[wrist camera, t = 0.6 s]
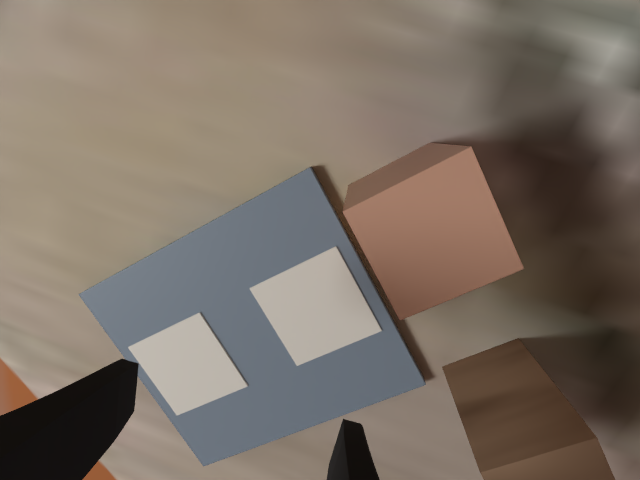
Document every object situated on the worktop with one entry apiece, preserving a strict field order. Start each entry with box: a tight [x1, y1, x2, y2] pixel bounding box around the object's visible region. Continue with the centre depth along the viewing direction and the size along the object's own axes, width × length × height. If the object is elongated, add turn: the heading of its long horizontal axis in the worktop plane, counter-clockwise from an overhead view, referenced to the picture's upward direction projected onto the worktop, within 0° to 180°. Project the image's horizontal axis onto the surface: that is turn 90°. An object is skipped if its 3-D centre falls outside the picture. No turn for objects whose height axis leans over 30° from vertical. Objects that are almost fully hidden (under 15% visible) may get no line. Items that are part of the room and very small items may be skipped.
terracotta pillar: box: [343, 143, 524, 320], centre depth 15 cm, size 4×4×7 cm
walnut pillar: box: [442, 338, 615, 480], centre depth 18 cm, size 4×4×7 cm
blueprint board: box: [79, 166, 426, 466], centre depth 22 cm, size 14×16×1 cm
